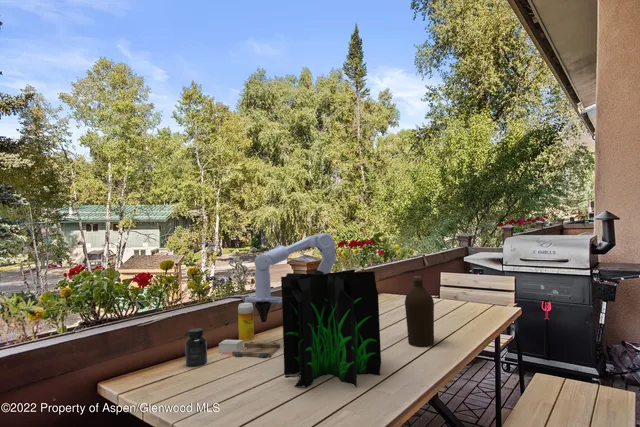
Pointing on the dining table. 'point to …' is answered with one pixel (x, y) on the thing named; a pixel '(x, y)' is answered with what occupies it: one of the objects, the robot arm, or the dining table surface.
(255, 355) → the wagon bed
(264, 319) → the robot arm
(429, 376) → the dining table surface
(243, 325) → the yellow bottle
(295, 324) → the decorative plant
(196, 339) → the supplement bottle
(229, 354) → the tailgate
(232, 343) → the block
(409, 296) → the olive oil
